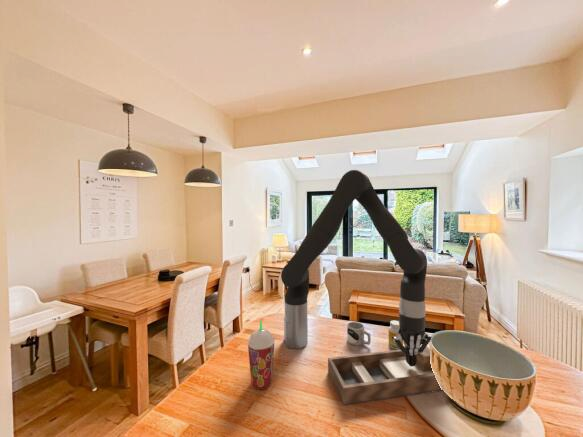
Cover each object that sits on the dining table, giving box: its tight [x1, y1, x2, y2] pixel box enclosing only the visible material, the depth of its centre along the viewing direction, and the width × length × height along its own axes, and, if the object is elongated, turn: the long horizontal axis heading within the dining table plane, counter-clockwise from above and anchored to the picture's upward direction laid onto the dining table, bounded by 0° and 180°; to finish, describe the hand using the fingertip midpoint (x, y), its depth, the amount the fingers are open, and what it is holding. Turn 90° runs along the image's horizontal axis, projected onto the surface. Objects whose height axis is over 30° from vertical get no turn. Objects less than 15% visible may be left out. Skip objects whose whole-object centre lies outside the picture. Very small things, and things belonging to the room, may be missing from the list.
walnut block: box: [416, 345, 432, 372], centre depth 80 cm, size 5×5×5 cm
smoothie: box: [247, 320, 276, 390], centre depth 78 cm, size 8×8×20 cm
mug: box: [346, 321, 372, 347], centre depth 100 cm, size 10×7×7 cm, turn 42°
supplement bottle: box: [388, 319, 404, 350], centre depth 97 cm, size 5×5×10 cm
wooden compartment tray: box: [327, 349, 442, 406], centre depth 78 cm, size 36×14×5 cm, turn 99°
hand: (411, 364), depth 79 cm, fingers closed
